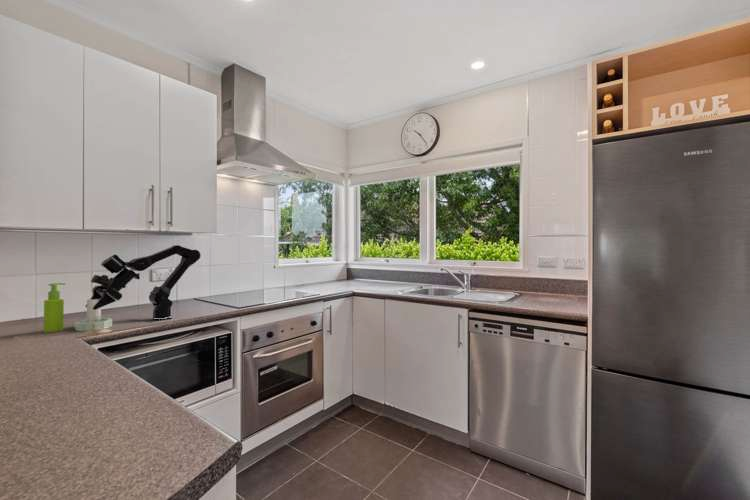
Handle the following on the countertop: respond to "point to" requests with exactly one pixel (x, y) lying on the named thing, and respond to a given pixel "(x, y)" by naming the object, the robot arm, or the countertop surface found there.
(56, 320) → the soap dispenser
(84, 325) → the bowl
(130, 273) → the robot arm
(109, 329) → the cork mat
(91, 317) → the white dome-topped cylinder
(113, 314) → the countertop surface
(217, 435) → the countertop surface
